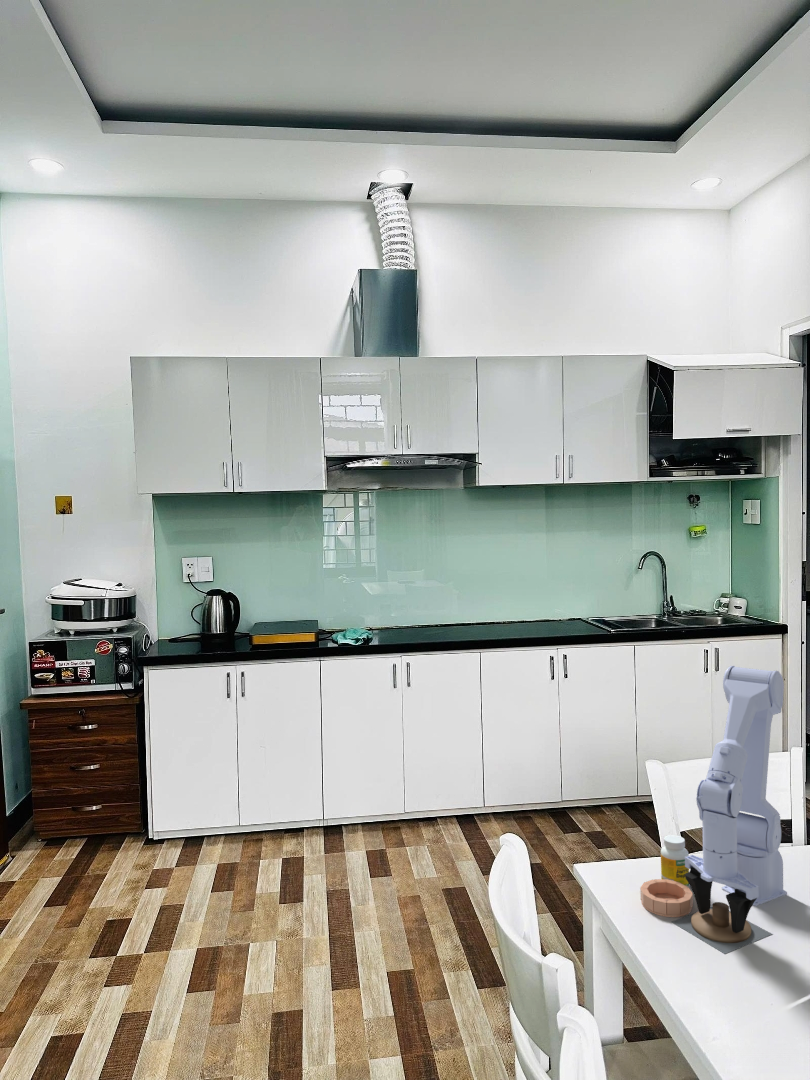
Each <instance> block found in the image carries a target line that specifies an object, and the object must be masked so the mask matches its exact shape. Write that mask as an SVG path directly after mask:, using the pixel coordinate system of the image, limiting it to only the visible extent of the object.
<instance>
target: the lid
mask: <svg viewBox="0 0 810 1080" xmlns="http://www.w3.org/2000/svg"><path fill="white" fill-rule="evenodd" d="M711 907H712V909H710V911H709V912H706V913H704V914H701V913H699V910H698V911H697V912H694V914H693V913H692V914H693V916H692V918H691V925H692V927H693V929H694V930H695V931H696V932H697V933H698V934H700V935H701V936H703V937H705V938H707V939H710V940H713V941H717V942H722V943H739V942H743V941H745V940H747V939H748V938H749V937H750V936H751V926H750V924H749V923H748V921H749V920H747V919H746V922H745V926H744V930H743V931H741V932H738V933H735V932H733V931H732V926H731V912H729V911H730V907H729V904H727V903H725V902H721V901H716V902H713V903H712V905H711Z"/></svg>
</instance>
